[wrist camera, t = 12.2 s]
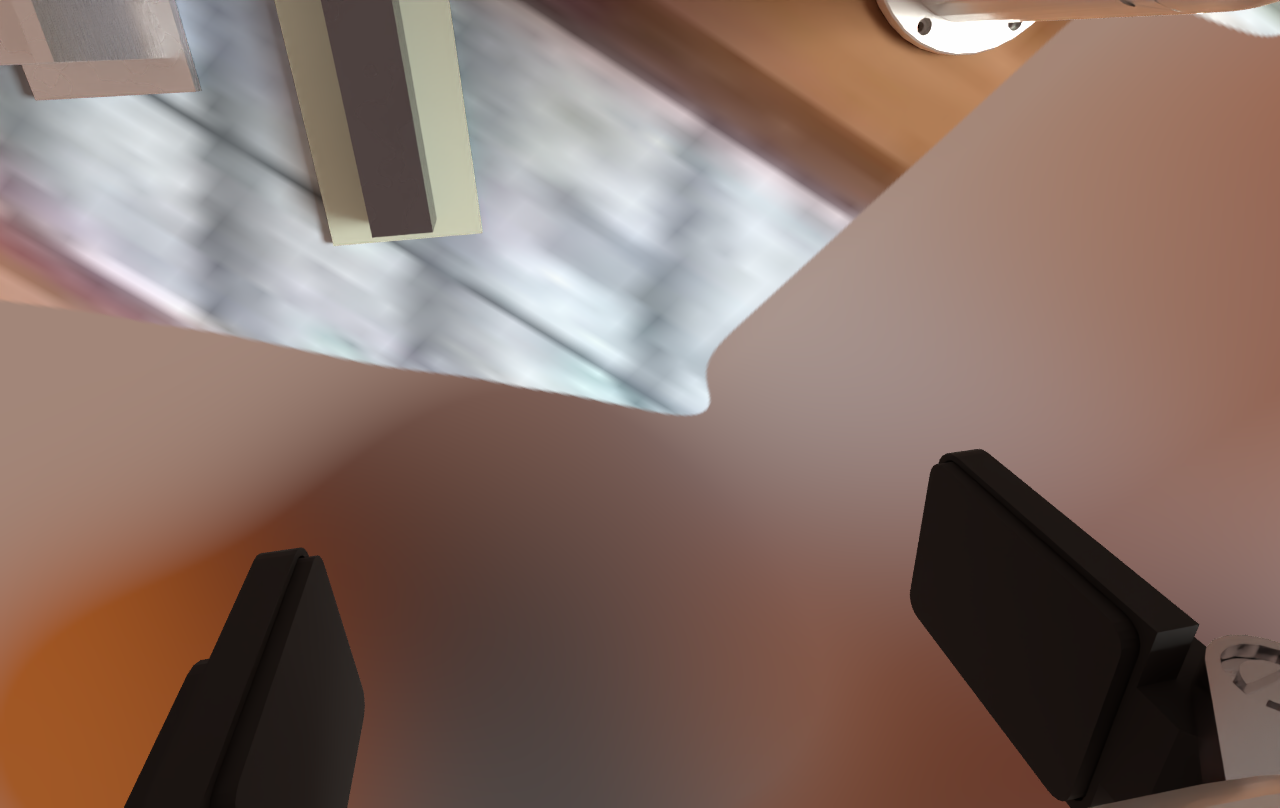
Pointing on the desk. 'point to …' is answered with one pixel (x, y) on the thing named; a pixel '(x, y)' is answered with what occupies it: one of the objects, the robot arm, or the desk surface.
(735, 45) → the desk surface
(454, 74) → the mat
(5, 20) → the rack
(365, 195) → the rail
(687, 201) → the desk surface
